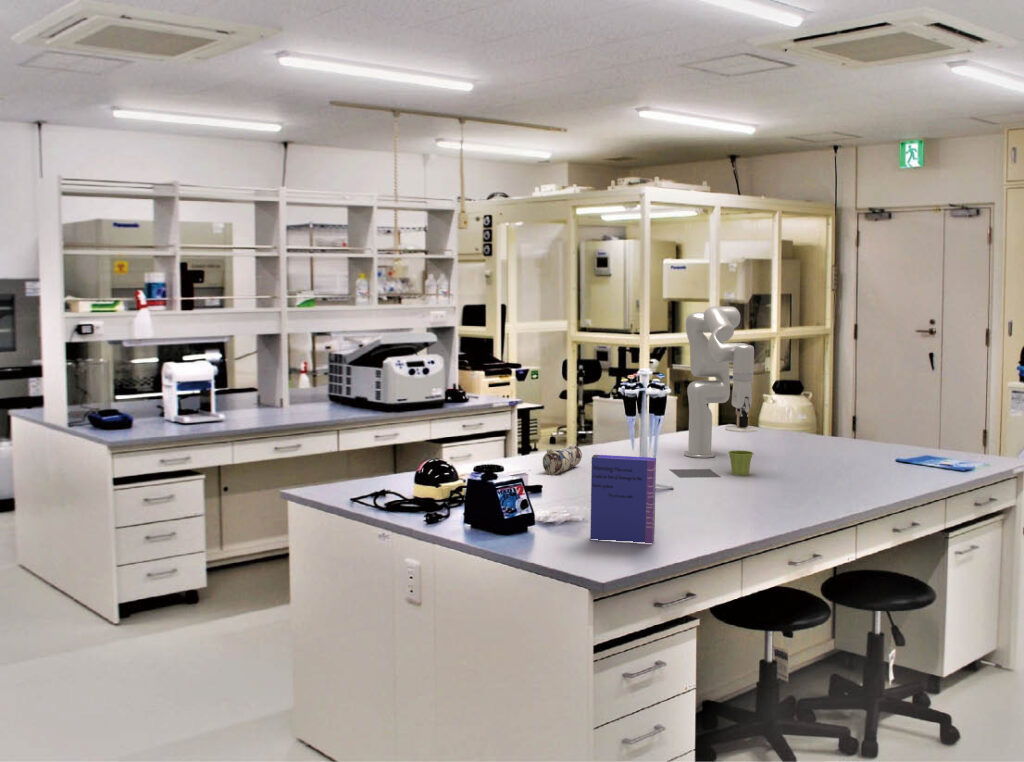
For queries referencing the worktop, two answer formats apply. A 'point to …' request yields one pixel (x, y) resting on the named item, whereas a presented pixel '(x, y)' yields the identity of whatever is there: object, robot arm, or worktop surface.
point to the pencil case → (561, 459)
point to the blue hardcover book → (623, 498)
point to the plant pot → (740, 462)
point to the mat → (694, 473)
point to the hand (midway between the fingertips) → (741, 425)
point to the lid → (740, 429)
